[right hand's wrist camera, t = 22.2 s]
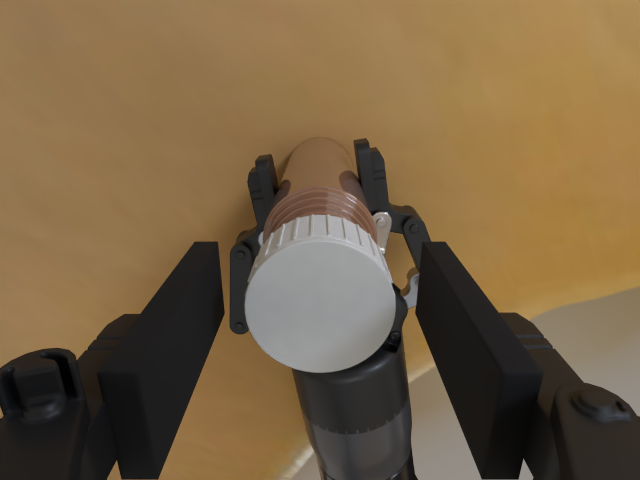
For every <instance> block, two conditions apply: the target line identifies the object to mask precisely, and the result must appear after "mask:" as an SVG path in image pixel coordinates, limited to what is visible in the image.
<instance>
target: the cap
mask: <svg viewBox="0 0 640 480" xmlns="http://www.w3.org/2000/svg"><path fill="white" fill-rule="evenodd" d="M247 282H249V284H248V287H247V290H246V293H245V303H244V308H245V317H246V322H247V325H248V328H249V330H250V332H251V334H252V336H253V338H254V339H255V341H256V342H257V344H258V345H259V346H260V347H261V348H262V349H263V350H264V351H265V352H266V353H267V354H268V355H269V356H270V357H272V358H273V359H275V360H276V361H278V362H280V363H282V364H284V365H286V366H288V367H291V368H294V369H297V370H301V371H306V372H315V373H325V372H334V371H339V370H343V369H346V368H350V367H352V366H354V365H357V364H359V363H360V362H362V361H364V360H366V359H367V358H368V357H370V356H371V355H372V354H373V353H374V352H375V351H377V350H378V349H379V348H380V346H381V345H382V344H383V343H384V341H385V340H386V338H387V336H388V335H389V333H390V330H391V328H392V326H393V322H394V319H395V312H396V300H395V293H394V290H393V287H392V284H391V283H393V281H392V278H391V275H390V272H389V269H388V266H387V264H386V261H385V258H384V257H383V256H382V253H381V250H380V247H379V245H378V244H377V245H376V243H375V242H374V240H373V239H372V238H371V235H370V234H369V233H368V234H367V233H366V232H365V231H364V230H363V229H362V228H360V227H359V225H358V224H354V223H352V222H350V221H348V220H345V218H339V217H336V216H330V215H329V214H327V215H314V214H312V215H310V216H305V217H301V218H299V217H298V218H296V219H295V220H292V221H290V222H288V223H286V224H282V226H281V227H280V228H279V229H277V230H276V231H275V232H274V233H271V234H270V237H269V238H268V239H267V241H266V242H265V244H262V245H261V248H260V251H259V254H258V256H256V258H255V261H254V264H253V267H252V270H251V273H250V275H249V278H248V281H247Z"/></svg>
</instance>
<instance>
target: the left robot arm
mask: <svg viewBox="0 0 640 480" xmlns="http://www.w3.org/2000/svg"><path fill="white" fill-rule="evenodd" d="M354 149H355V156H356V164H357V171H358V178H359V182H360V185H361V187H362V190H363V193H364V195H365V198H366V201H367V203H368V206H369V209H370V211H371V214H372V217H373V220H374V222H375V226H376V230H377V244H378V245H379V247H380V250H381V253H382V256H383V257H384V258H385V249H386V245H387V241H388V237H389V233H390V232H395V233H401V234H403V236H404V238H405V241H406V243H407V246H408V248H409V251H410V253H411V256H412V258H413V261H414V263H415V266H416V267H414V268H412V269H411V270H409V272H408V274H407V280H408V282H407V285H406V287H405V288H404V289H402V290H400V289H399V288H398V287H397V286H396V285H395V284H394V283H391V284H392V287H393V290H394V293H395V300H396V312H395V319H394V322H393V326H392V328H391V330H390V333H389V335H388V336H387V338H386V340H385V341H384V343H383V344H382V345H381V346H380V348H379V349H378V350H377V351H375V352H374V353H373V354H372V355H371V356H370V357H368V358H367V359H366V360H364V361H362V362H360V363H359V364H357V365H354V366H352V367H350V368H346V369H343V370H339V371H334V372H325V373H315V372H306V371H301V370H297V369H294V368H292V371H293V376H294V380H295V384H296V388H297V393H298V397H299V401H300V406H301V410H302V414H303V418H304V423H305V427H306V431H307V434H308V437H309V440H310V443H311V445H312V448H313V450H314V452H315V455H316V458H317V463H318V467H319V471H320V476H321V480H418V479H417V477H416V475H415V472H414V465H413V456H412V448H411V428H412V418H411V407H410V398H409V389H408V380H407V371H406V362H405V353H404V344H403V336H402V325H403V322H404V320H405V318H406V316H407V313H408V309H409V308H412V307H414V306H416V302H417V291H418V281H419V270H420V260H421V249H422V242H431V240H430V237H429V235H428V232H427V229H426V227H425V224H424V222H423V221H422V219H421V218H420V216H419V215H418V214H417V212H416V211H415V209H414V208H413V207H411V206H402V207H401V206H396V205H392V204H390V203H389V200H388V192H387V183H386V174H385V165H384V159H383V157H382V156H381V154H380V152H379V151H378V149H377V148H376V147H375V148H370V146H369V142H368V140H367V139H366V138H364V139H358V140H354ZM255 165H256V167H254V168H252V170H251V171H250V172H249V176H248V182H247V183H248V187H249V191H250V195H251V199H252V204H253V208H254V212H255V216H256V221H257V226H256V227H255V228H253V229H251V230H249V231H243V232H241V233H240V234H239V236H238V238H237V241H236V243H235V245H234V246H233V248H232V250H231V252H230V329H231V330H232V331H233V332H234V333H236V334H244V333H246V332H247V331H248V330H249V328H248V325H247V322H246V317H245V308H244V303H245V293H246V290H247V287H248V284H249V282H247V281H248V278H249V275H250V273H251V270H252V267H253V264H254V261H255V258H256V256H257V255H258V254H259V251H260V248H261V245H262V244H263V230H264V226H265V223H266V220H267V217H268V214H269V212H270V209H271V206H272V204H273V201H274V198H275V196H276V193H277V190H278V187H279V186H278V181H277V176H276V172H275V167H274V162H273V158H272V155H271V154H268V155H262V156H259V157H258V158H257V159H256V161H255Z"/></svg>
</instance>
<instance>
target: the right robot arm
mask: <svg viewBox="0 0 640 480" xmlns="http://www.w3.org/2000/svg"><path fill="white" fill-rule="evenodd" d="M224 314H225V312H224V302H223V291H222V281H221V270H220V260H219V249H218V242H194V244H193V245H192V246H191V247H190V249H189V250H188V251H187V253H186V254H185V255H184V257H183V258H182V259H181V261H180V262H179V263H178V265H177V266H176V267H175V269H174V270H173V271H172V273H171V274H170V275H169V277H168V278H167V279H166V281H165V282H164V283H163V285H162V286H161V287H160V289H159V290H158V291H157V293H156V294H155V295H154V297H153V298H152V299H151V301H150V302H149V303H148V305H147V306H146V307H145V309H144V310H143V311H142V313H141V314H124V315H122V316H120V317H119V318H117V319H116V320H114V321H113V322H111V323H109V324H108V325H107V326H106V327H105V328H104V329H103V331H102V332H101V333H100V334H99V335H98V336H97V340H94V341H93V342H92V343H91V345H90V346H89V347H88V350H85V352H84V353H83V354H82V355H81V356H80V357H79V359H78V360H76V356H75V354H73V353H72V352H71V351H70V350H67V349H61V348H50V349H42V350H38V351H34V352H30V353H27V354H25V355H22V356H20V357H18V358H16V359H13V360H11V361H10V362H8V363H7V364H5V365H4V366H2V367H1V368H0V407H1V409H2V412H3V415H4V416H3V418H1V419H0V480H107V477H108V475H109V474H110V472H111V470H112V468H113V466H114V464H115V462H116V460H117V462H118V466H119V470H120V475H121V479H158V478H159V476H160V473H161V471H162V468H163V466H164V463H165V461H166V458H167V456H168V453H169V451H170V448H171V446H172V443H173V441H174V438H175V436H176V433H177V431H178V428H179V426H180V423H181V421H182V418H183V416H184V413H185V411H186V408H187V406H188V403H189V401H190V398H191V396H192V393H193V391H194V388H195V386H196V383H197V381H198V378H199V376H200V373H201V371H202V368H203V366H204V363H205V361H206V358H207V356H208V354H209V351H210V349H211V346H212V344H213V341H214V339H215V336H216V334H217V331H218V329H219V326H220V324H221V321H222V319H223V316H224ZM415 314H416V316H417V319H418V321H419V324H420V326H421V329H422V331H423V334H424V336H425V339H426V341H427V344H428V346H429V349H430V351H431V354H432V356H433V358H434V361H435V363H436V366H437V368H438V371H439V373H440V376H441V378H442V381H443V383H444V386H445V388H446V391H447V393H448V396H449V398H450V401H451V403H452V406H453V408H454V411H455V413H456V416H457V418H458V421H459V423H460V426H461V428H462V431H463V433H464V436H465V438H466V441H467V443H468V446H469V448H470V451H471V453H472V456H473V458H474V461H475V463H476V466H477V468H478V471H479V473H480V476H481V478H482V479H519V475H520V470H521V466H522V462H523V458H524V460H525V462H526V464H527V466H528V467H529V469H530V471H531V473H532V475H533V477H534V478H533V480H640V417H639V416H637V415H636V413H635V412H634V411H633V409H632V408H631V407H630V405H629V404H628V403H626V402H625V401H624V400H622V399H621V398H620V397H619V396H617V395H616V394H614V393H612V392H610V391H608V390H606V389H604V388H601V387H598V386H595V385H592V384H588V383H584V382H583V381H582V380H581V379H580V378H579V376H578V375H577V374H576V373H575V372H574V371H573V369H572V368H571V367H570V366H569V365H568V364H567V363H566V361H565V360H564V359H563V358H562V357H561V355H560V354H559V353H558V352H557V351H556V350H555V349H553V348H552V345H551V344H550V343H549V342H548V340H547V339H546V338H544V336H543V335H542V333H541V332H540V331H539V330H538V329H537V328H536V326H535V325H534V324H533V323H532V322H530V321H528V320H527V319H525V318H524V317H522V316H520V315H519V314H517V313H498V311H497V310H496V309H495V307H494V306H493V305H492V303H491V302H490V301H489V299H488V298H487V297H486V295H485V294H484V293H483V291H482V290H481V289H480V287H479V286H478V285H477V283H476V282H475V281H474V279H473V278H472V277H471V275H470V274H469V273H468V271H467V270H466V269H465V267H464V266H463V265H462V263H461V262H460V261H459V259H458V258H457V257H456V255H455V254H454V253H453V251H452V250H451V249H450V247H449V246H448V245H447V244H446V242H422V249H421V260H420V270H419V281H418V291H417V302H416V312H415Z"/></svg>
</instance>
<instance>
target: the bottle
mask: <svg viewBox="0 0 640 480" xmlns="http://www.w3.org/2000/svg"><path fill="white" fill-rule="evenodd" d="M312 214H314V215H327V214H329V215H330V216H336V217H339V218H345V220H348V221H350V222H352V223H354V224H358V225H359V227H360V228H362V229H363V230H364V231H365V232H366V233H367V234H368V233H369V234H370V235H371V238H372V239H373V240H374V242H375V243H376V245H377V230H376V226H375V222H374V220H373V217H372V214H371V211H370V209H369V206H368V203H367V201H366V198H365V195H364V193H363V190H362V187H361V185H360V182H359V179H358V177H357V174H356V171H355V169H354V166H353V163H352V160H351V158H350V156H349V154H348V153H347V151H346V150H345V149H344V148H343V147H342V146H341V145H340V144H338V143H337V142H335V141H333V140H330V139H326V138H314V139H310V140H307V141H305V142H303V143H302V144H300V145H299V146H298V147H297V148H296V149H295V150H294V151H293V153H292V154H291V156H290V158H289V161H288V163H287V166H286V169H285V171H284V174H283V177H282V179H281V182H280V185H279V187H278V190H277V193H276V196H275V198H274V201H273V204H272V206H271V209H270V212H269V214H268V217H267V220H266V223H265V226H264V230H263V244H265V242H266V241H267V239H268V238H269V237H270V234H271V233H274V232H275V231H276V230H277V229H279V228H280V227H281V226H282V224H286V223H288V222H290V221H292V220H295V219H296V218H298V217H299V218H301V217H305V216H310V215H312Z"/></svg>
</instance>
